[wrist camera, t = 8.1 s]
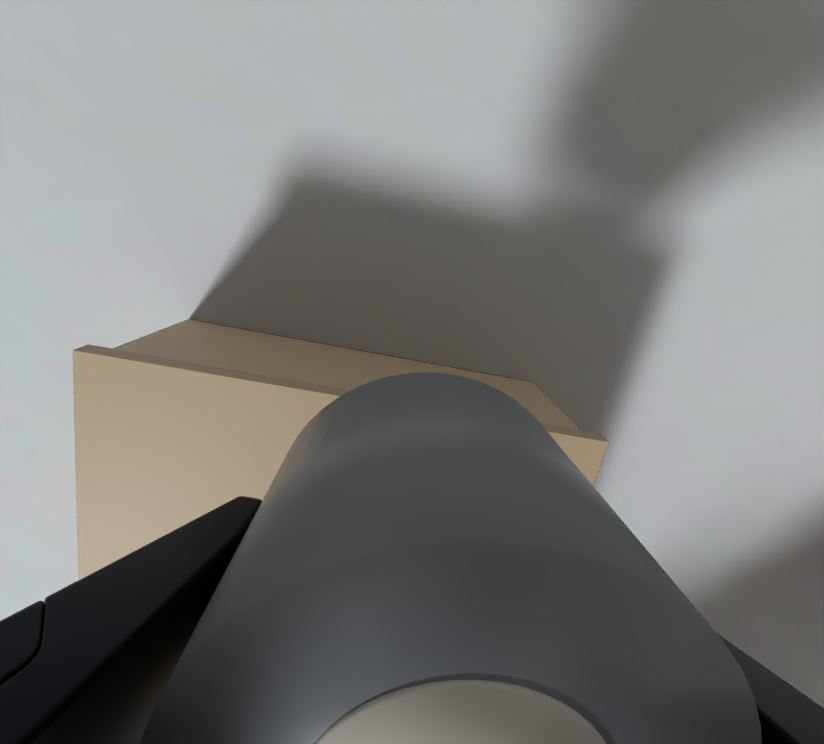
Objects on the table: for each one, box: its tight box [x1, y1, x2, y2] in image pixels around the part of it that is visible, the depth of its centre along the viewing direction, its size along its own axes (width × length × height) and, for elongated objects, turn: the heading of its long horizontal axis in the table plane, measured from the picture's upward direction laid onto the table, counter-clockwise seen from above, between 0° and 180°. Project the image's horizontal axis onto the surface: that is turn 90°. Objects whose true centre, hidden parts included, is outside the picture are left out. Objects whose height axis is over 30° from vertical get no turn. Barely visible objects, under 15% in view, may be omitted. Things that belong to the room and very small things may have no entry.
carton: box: [113, 320, 580, 430], centre depth 17 cm, size 14×14×5 cm
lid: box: [73, 345, 609, 580], centre depth 14 cm, size 15×14×1 cm
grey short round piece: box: [140, 372, 762, 744], centre depth 7 cm, size 6×6×5 cm
